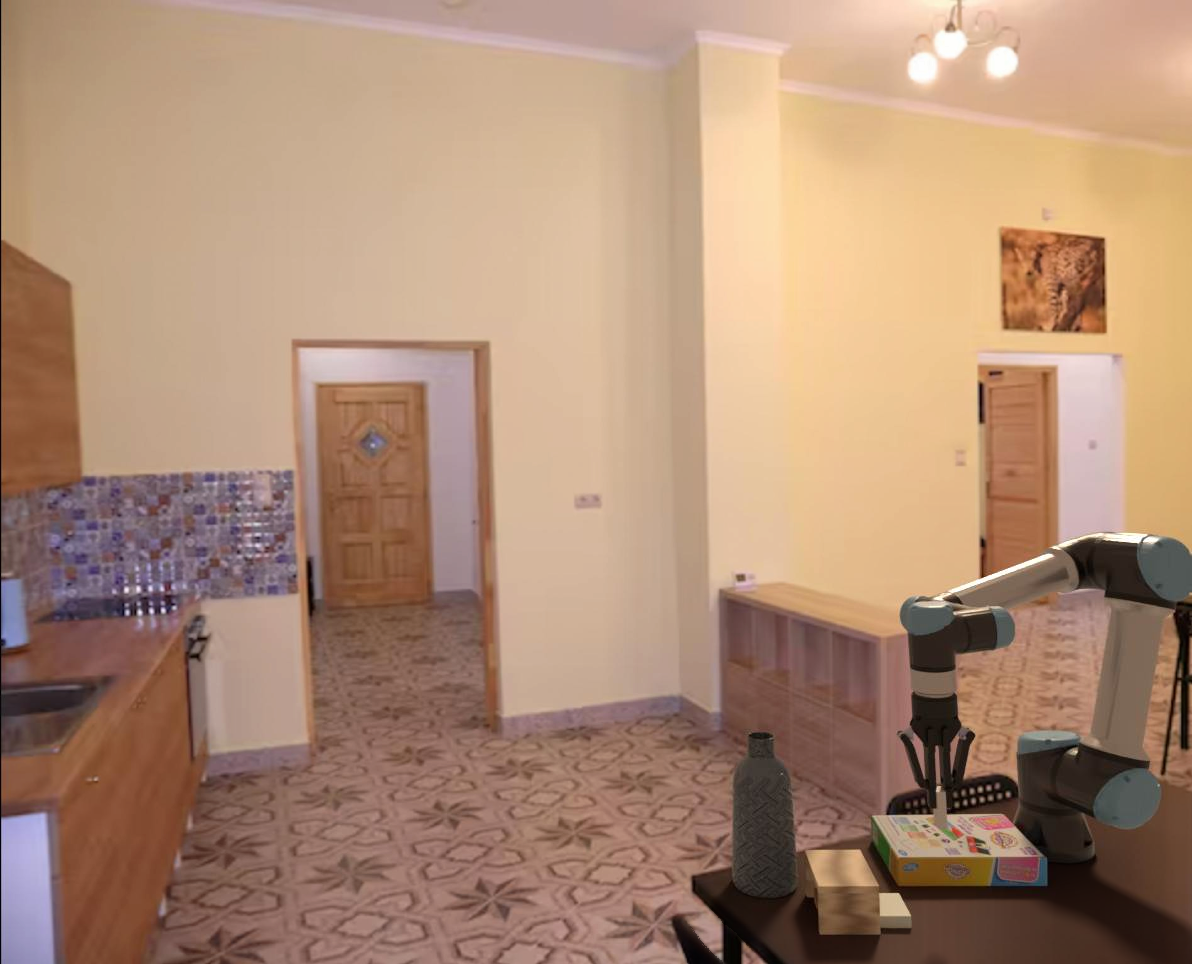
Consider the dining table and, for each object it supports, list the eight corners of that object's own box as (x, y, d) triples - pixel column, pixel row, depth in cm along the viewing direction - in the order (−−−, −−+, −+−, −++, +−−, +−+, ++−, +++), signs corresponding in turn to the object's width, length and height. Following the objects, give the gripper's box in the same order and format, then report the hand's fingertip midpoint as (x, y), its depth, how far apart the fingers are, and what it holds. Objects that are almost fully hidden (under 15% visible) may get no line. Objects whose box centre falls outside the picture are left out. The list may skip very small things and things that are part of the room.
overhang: (861, 893, 163) (860, 849, 163) (880, 934, 149) (879, 886, 149) (806, 894, 163) (804, 849, 163) (820, 934, 149) (818, 886, 149)
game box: (897, 887, 165) (1049, 887, 163) (896, 858, 165) (1048, 858, 162) (871, 839, 185) (1005, 839, 183) (870, 813, 185) (1004, 812, 183)
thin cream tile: (899, 906, 159) (899, 893, 158) (911, 930, 151) (911, 916, 150) (831, 906, 159) (830, 893, 159) (839, 930, 152) (839, 915, 151)
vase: (726, 894, 164) (722, 743, 164) (739, 865, 176) (734, 724, 175) (793, 903, 160) (788, 748, 160) (801, 873, 172) (797, 728, 171)
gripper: (964, 684, 157) (971, 815, 158) (889, 687, 158) (896, 818, 159) (980, 696, 150) (987, 833, 151) (901, 699, 151) (908, 836, 152)
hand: (940, 825), depth 155 cm, fingers closed
